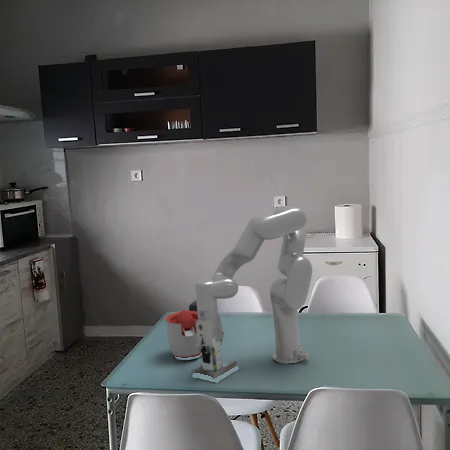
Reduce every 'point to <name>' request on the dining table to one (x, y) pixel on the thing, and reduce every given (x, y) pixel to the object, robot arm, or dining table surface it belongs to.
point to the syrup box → (214, 357)
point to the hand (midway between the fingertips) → (212, 358)
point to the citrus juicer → (183, 333)
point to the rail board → (215, 374)
